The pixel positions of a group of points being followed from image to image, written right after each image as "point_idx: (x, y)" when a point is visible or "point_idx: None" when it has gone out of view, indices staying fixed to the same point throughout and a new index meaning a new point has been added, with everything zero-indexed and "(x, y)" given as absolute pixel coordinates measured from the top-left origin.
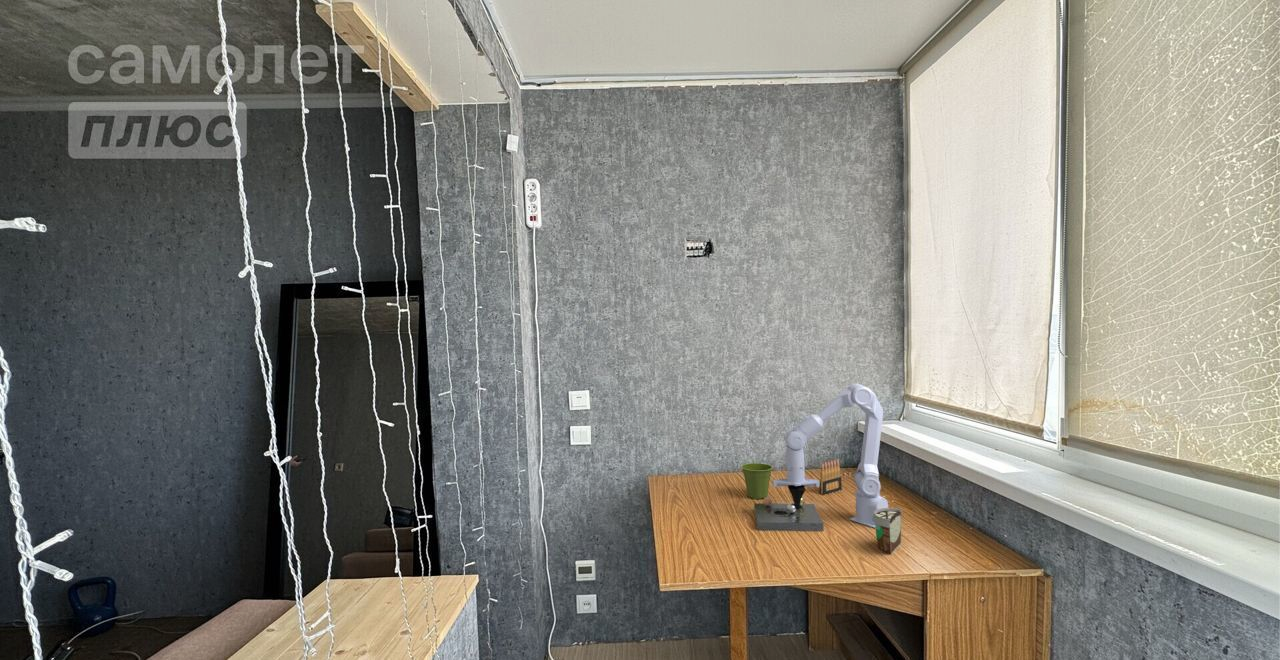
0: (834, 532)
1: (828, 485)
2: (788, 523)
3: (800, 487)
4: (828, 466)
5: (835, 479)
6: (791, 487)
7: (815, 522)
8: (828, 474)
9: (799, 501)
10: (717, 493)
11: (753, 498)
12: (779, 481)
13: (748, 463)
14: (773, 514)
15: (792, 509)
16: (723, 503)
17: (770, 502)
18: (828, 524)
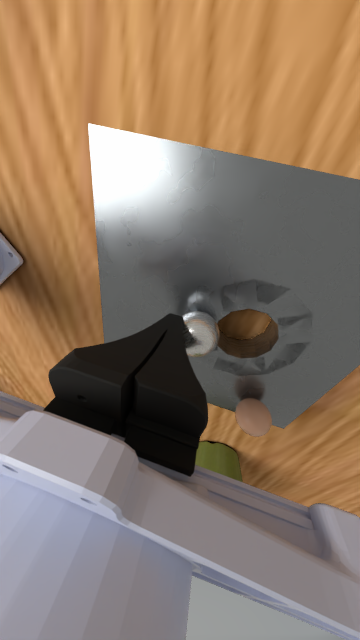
0: (69, 113)
1: None
2: (298, 169)
3: (89, 410)
4: None
5: None
6: (169, 439)
7: (129, 149)
8: None
9: (153, 327)
10: (291, 489)
11: (231, 449)
12: (335, 624)
13: None
14: (290, 326)
15: (201, 315)
16: (325, 461)
17: (250, 406)
18: (89, 237)
